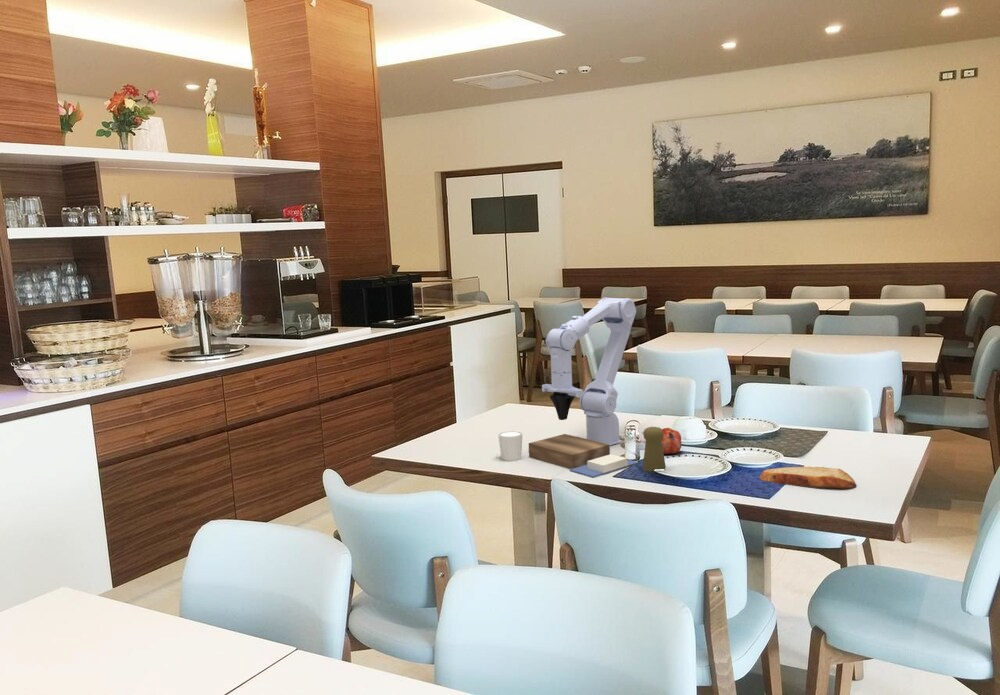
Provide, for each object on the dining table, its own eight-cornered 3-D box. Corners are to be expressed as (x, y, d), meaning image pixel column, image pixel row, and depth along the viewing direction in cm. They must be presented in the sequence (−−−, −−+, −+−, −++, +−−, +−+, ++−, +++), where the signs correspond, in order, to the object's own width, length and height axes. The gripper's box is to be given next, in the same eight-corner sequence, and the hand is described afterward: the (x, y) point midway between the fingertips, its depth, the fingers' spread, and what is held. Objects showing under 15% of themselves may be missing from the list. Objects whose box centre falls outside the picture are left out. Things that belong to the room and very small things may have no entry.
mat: (614, 457, 224) (614, 456, 224) (638, 463, 218) (638, 462, 218) (569, 470, 214) (569, 469, 214) (593, 477, 207) (593, 476, 207)
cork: (648, 473, 209) (647, 431, 207) (638, 466, 215) (637, 426, 213) (670, 470, 211) (669, 428, 209) (659, 464, 216) (658, 423, 215)
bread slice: (753, 478, 202) (753, 463, 201) (813, 468, 207) (813, 454, 207) (801, 499, 185) (801, 483, 184) (865, 488, 190) (865, 472, 190)
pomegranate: (652, 459, 229) (655, 445, 221) (653, 435, 233) (656, 420, 224) (679, 461, 228) (683, 448, 220) (680, 437, 232) (683, 423, 223)
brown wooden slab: (565, 447, 238) (564, 433, 237) (610, 458, 224) (609, 444, 223) (529, 457, 229) (528, 443, 229) (573, 469, 215) (572, 454, 215)
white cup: (526, 455, 231) (525, 431, 230) (520, 461, 225) (519, 437, 224) (503, 454, 233) (501, 430, 232) (496, 461, 227) (495, 436, 226)
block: (627, 458, 215) (627, 465, 215) (610, 454, 219) (611, 461, 220) (603, 465, 209) (603, 473, 210) (587, 461, 214) (587, 468, 214)
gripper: (533, 371, 229) (535, 418, 231) (569, 376, 218) (571, 425, 220) (551, 367, 234) (553, 413, 236) (587, 372, 223) (589, 421, 224)
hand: (562, 419), depth 228 cm, fingers closed
